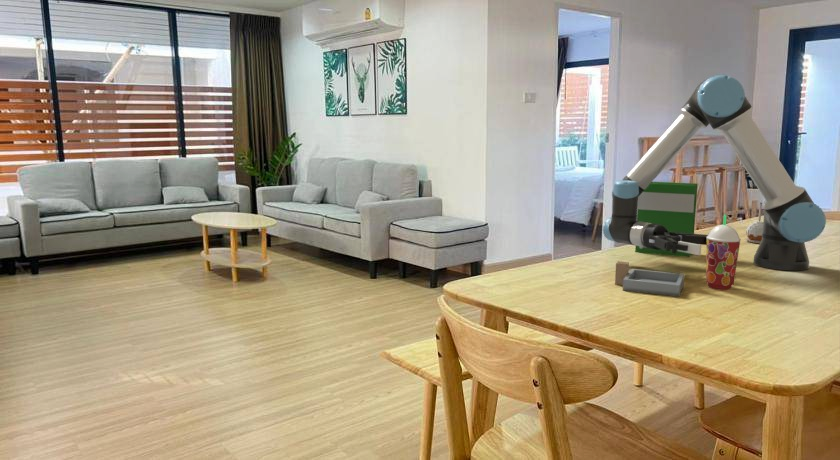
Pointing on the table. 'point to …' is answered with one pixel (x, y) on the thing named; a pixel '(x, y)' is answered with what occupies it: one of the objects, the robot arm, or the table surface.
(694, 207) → the hardback book
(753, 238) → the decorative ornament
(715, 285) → the smoothie
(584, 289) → the table surface
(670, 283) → the tray
